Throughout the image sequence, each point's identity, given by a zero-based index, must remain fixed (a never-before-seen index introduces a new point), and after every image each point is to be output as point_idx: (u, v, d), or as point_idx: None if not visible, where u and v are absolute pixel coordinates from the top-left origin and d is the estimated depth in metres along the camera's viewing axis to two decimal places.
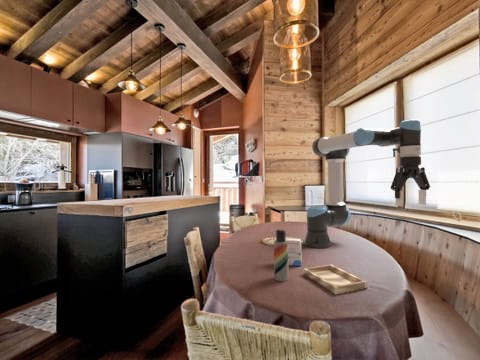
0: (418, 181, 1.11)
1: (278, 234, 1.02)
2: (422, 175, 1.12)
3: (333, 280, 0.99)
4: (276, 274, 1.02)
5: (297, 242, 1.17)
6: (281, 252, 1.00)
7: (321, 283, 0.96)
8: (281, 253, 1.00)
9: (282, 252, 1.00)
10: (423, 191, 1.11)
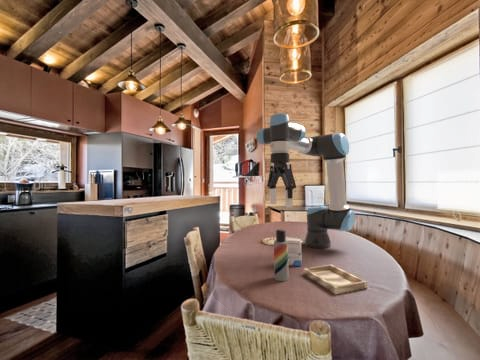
0: None
1: (278, 234, 1.02)
2: None
3: (333, 280, 0.99)
4: (276, 274, 1.02)
5: (297, 242, 1.17)
6: (281, 252, 1.00)
7: (321, 283, 0.96)
8: (281, 253, 1.00)
9: (282, 252, 1.00)
10: None
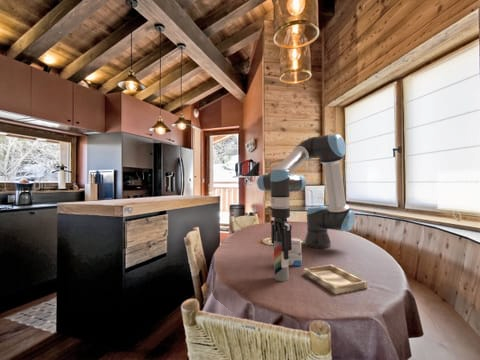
0: None
1: (278, 234, 1.02)
2: None
3: (333, 280, 0.99)
4: (276, 274, 1.02)
5: (297, 242, 1.17)
6: None
7: (321, 283, 0.96)
8: (280, 253, 1.00)
9: None
10: None
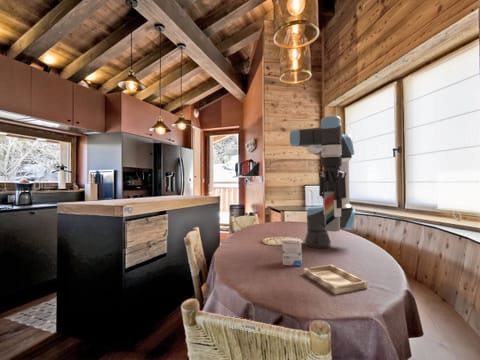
0: None
1: (329, 184, 0.99)
2: None
3: (333, 280, 0.99)
4: (328, 225, 0.99)
5: (297, 242, 1.17)
6: (333, 201, 0.98)
7: (321, 283, 0.96)
8: (333, 203, 0.98)
9: None
10: None
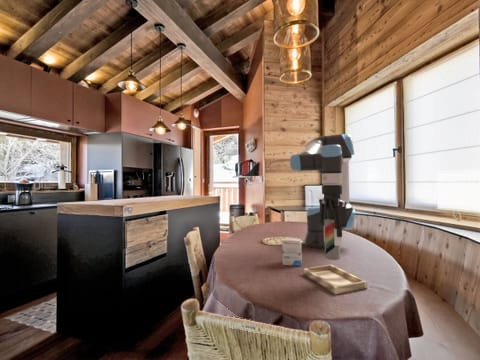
0: None
1: (330, 211, 0.99)
2: None
3: (333, 280, 0.99)
4: (328, 253, 0.98)
5: (297, 242, 1.17)
6: (333, 230, 0.97)
7: (321, 283, 0.96)
8: (333, 231, 0.97)
9: None
10: None
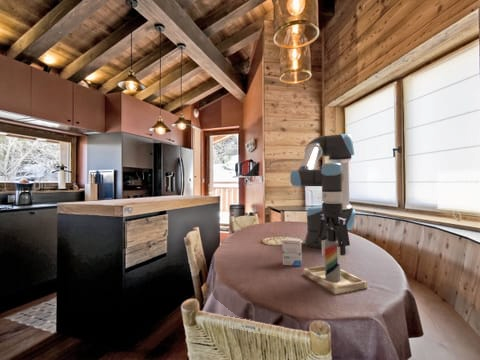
0: None
1: (330, 233, 0.98)
2: None
3: None
4: (328, 274, 0.99)
5: (297, 242, 1.17)
6: (333, 252, 0.97)
7: (321, 283, 0.96)
8: (333, 253, 0.97)
9: (335, 252, 0.97)
10: None
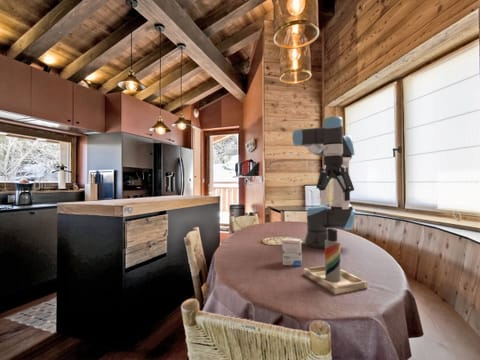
0: None
1: (330, 233, 0.99)
2: None
3: None
4: (328, 274, 0.99)
5: (297, 242, 1.17)
6: (334, 252, 0.97)
7: (321, 283, 0.96)
8: (333, 253, 0.98)
9: (335, 252, 0.98)
10: None
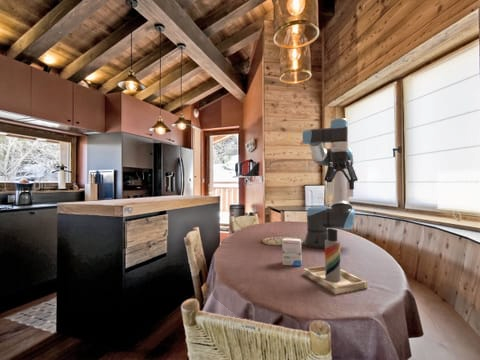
0: None
1: (330, 233, 0.99)
2: None
3: None
4: (328, 274, 0.99)
5: (297, 242, 1.17)
6: (334, 252, 0.97)
7: (321, 283, 0.96)
8: (333, 253, 0.97)
9: (335, 252, 0.98)
10: None
